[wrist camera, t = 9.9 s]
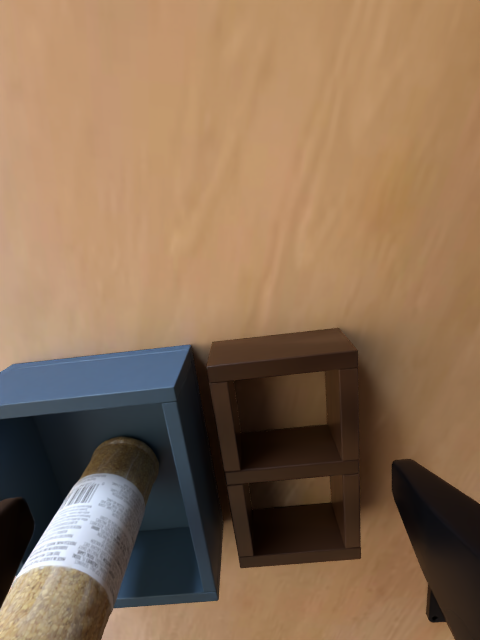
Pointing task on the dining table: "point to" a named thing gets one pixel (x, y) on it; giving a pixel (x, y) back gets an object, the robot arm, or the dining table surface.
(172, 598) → the open box shelf
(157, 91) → the dining table surface
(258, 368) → the brown cubby shelf
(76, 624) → the sprinkles bottle
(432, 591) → the robot arm
